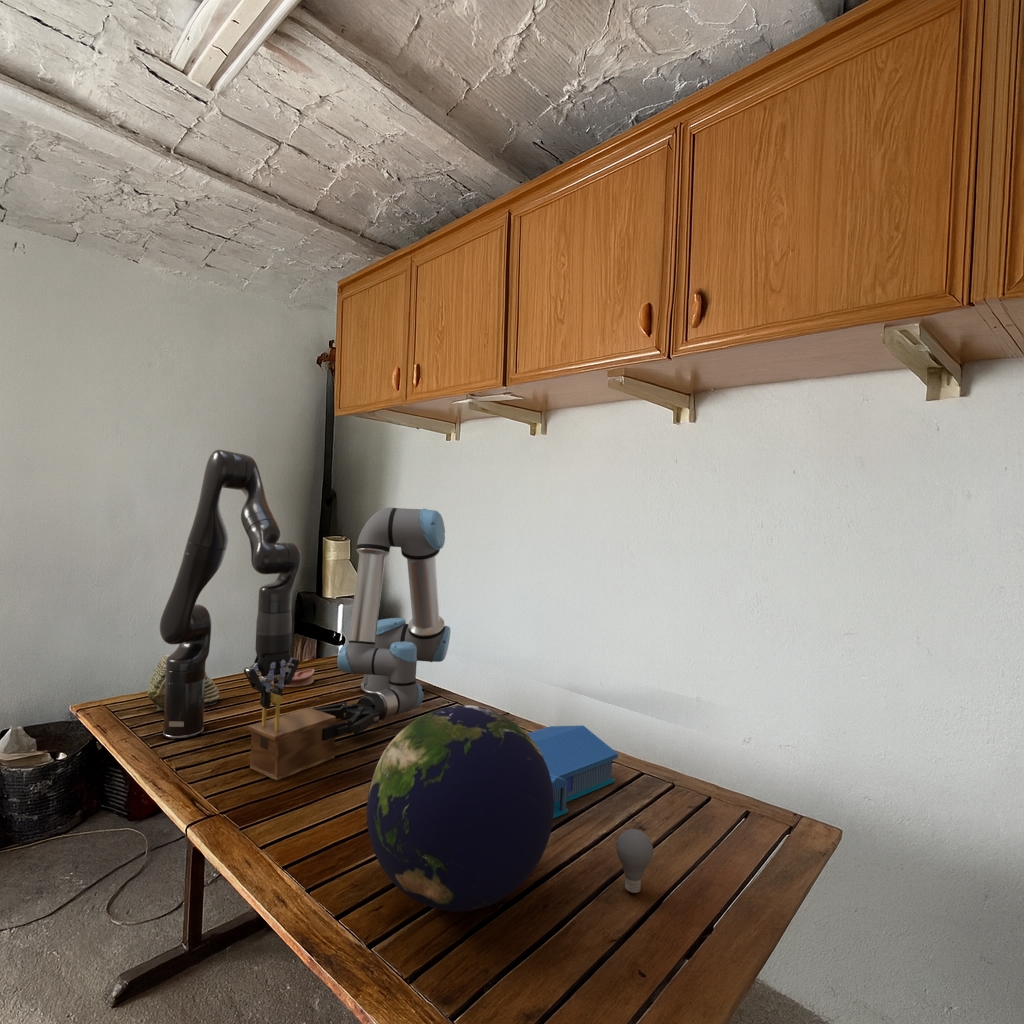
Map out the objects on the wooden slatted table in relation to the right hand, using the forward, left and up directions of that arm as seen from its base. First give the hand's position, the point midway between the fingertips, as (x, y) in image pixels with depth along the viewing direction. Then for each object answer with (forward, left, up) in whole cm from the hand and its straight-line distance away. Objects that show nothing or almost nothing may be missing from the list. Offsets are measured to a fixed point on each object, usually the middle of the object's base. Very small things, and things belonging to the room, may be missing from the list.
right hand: (308, 729), depth 153 cm
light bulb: (+36, +76, -7) cm, 85 cm away
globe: (+43, +48, -7) cm, 65 cm away
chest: (+4, -2, -7) cm, 8 cm away
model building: (+4, +54, -7) cm, 55 cm away
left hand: (+10, -5, +8) cm, 13 cm away
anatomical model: (-54, -34, -7) cm, 64 cm away
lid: (+4, -2, +2) cm, 5 cm away
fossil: (-24, -51, -7) cm, 57 cm away
